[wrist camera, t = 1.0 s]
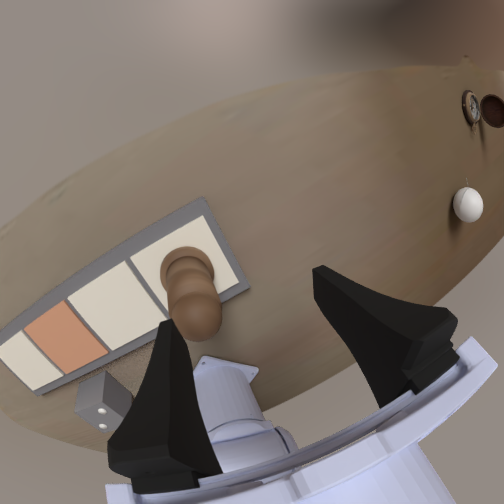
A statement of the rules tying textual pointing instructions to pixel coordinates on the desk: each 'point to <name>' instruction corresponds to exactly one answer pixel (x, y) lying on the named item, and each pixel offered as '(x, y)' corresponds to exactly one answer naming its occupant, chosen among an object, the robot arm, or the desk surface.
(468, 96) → the compass
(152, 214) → the desk surface
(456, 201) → the seamed sphere
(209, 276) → the pawn
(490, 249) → the desk surface
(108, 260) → the board
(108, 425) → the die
